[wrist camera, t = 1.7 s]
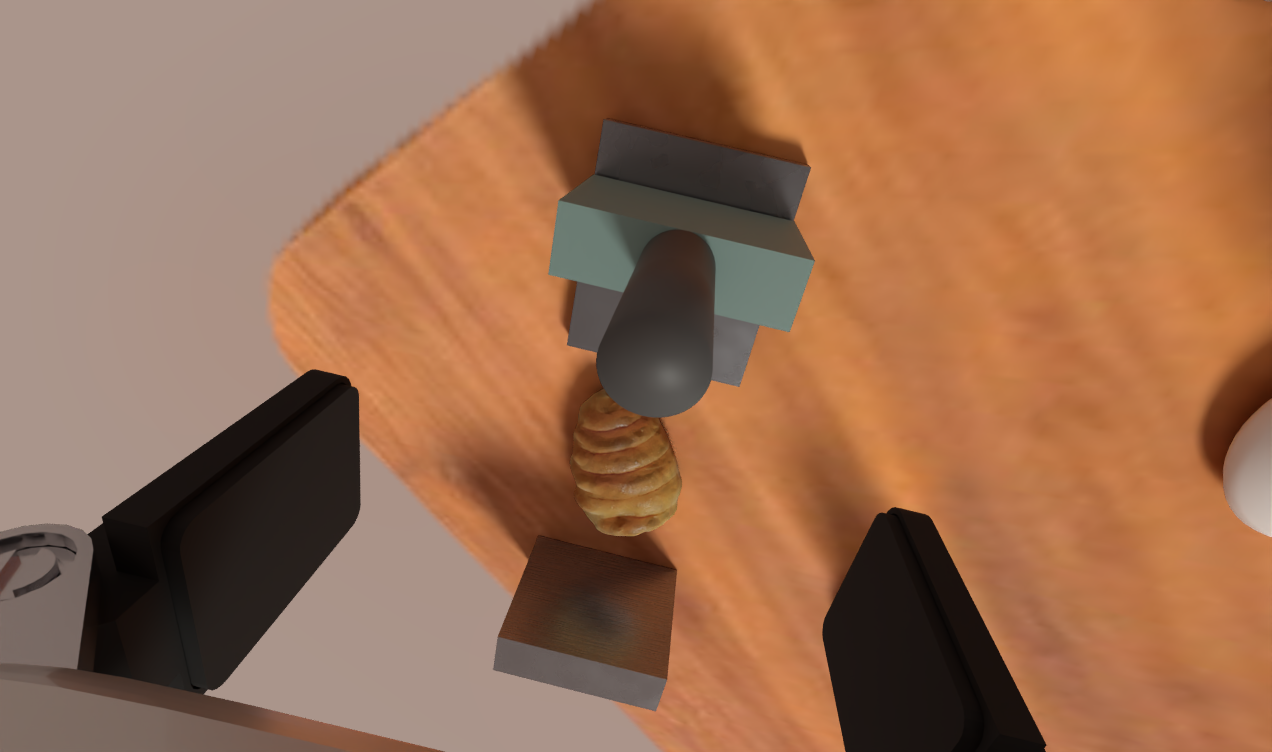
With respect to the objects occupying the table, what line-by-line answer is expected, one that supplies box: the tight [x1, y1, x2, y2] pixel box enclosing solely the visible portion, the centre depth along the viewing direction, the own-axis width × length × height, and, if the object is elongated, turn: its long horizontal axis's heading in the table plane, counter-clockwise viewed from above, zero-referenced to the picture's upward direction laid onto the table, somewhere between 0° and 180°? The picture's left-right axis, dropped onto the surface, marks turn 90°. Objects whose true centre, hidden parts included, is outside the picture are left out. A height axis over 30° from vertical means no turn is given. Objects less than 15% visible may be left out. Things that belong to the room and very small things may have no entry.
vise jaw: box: [548, 175, 815, 418], centre depth 22 cm, size 3×10×16 cm, turn 78°
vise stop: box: [493, 536, 677, 711], centre depth 38 cm, size 3×10×8 cm, turn 78°
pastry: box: [570, 389, 682, 536], centre depth 36 cm, size 9×7×4 cm
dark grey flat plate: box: [567, 118, 811, 387], centre depth 31 cm, size 12×10×1 cm
